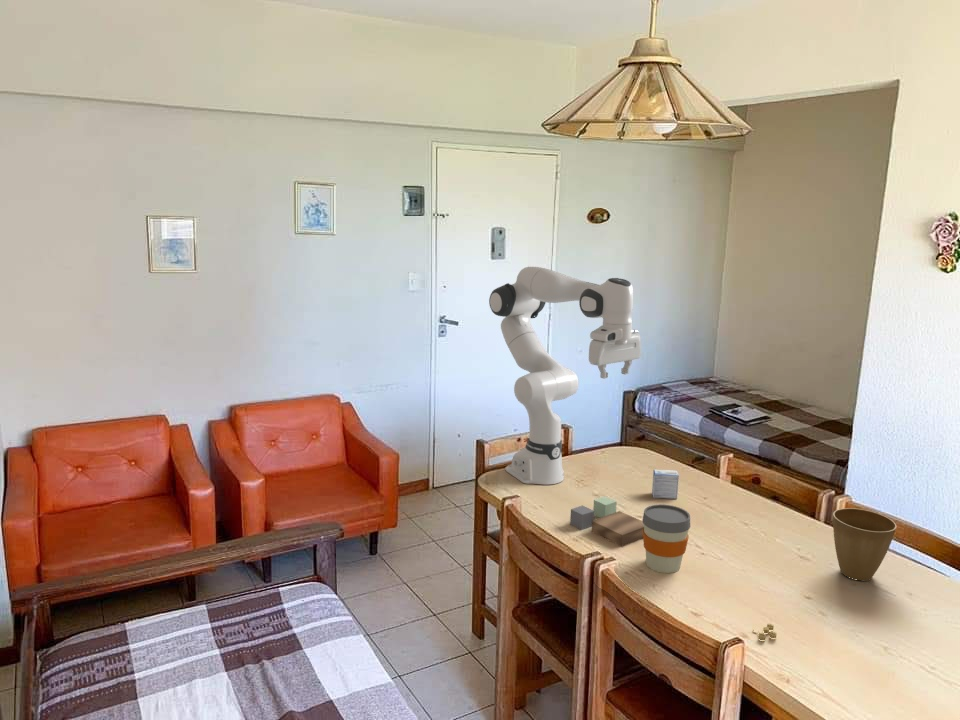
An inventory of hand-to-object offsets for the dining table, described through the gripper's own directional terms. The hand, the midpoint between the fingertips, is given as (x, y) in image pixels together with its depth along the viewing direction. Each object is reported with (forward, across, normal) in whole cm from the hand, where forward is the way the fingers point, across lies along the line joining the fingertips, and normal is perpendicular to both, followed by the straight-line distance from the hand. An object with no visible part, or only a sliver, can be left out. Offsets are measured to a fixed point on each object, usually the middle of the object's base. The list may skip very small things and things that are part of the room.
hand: (614, 376), depth 229 cm
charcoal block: (+44, +16, +4) cm, 47 cm away
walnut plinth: (+44, +11, +15) cm, 48 cm away
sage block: (+44, +5, +3) cm, 44 cm away
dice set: (+45, +24, +71) cm, 87 cm away
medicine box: (+44, -23, +4) cm, 50 cm away
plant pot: (+44, -22, +70) cm, 85 cm away
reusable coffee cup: (+44, +16, +35) cm, 59 cm away
